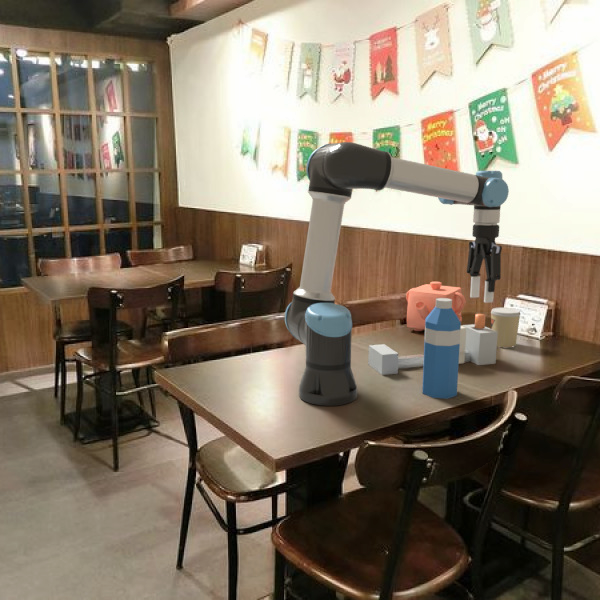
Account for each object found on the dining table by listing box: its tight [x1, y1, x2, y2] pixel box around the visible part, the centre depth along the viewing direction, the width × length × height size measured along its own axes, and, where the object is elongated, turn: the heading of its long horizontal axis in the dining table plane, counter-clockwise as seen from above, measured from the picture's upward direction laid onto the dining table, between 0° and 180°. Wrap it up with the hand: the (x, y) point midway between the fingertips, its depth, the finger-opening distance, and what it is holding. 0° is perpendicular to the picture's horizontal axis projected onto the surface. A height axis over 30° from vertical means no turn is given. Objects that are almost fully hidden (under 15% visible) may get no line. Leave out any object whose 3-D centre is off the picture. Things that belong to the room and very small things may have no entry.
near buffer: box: [367, 343, 399, 376], centre depth 175 cm, size 5×10×6 cm, turn 16°
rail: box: [398, 350, 471, 370], centre depth 179 cm, size 26×2×3 cm, turn 106°
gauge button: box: [474, 313, 487, 329], centre depth 181 cm, size 3×3×4 cm
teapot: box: [405, 281, 467, 332], centre depth 216 cm, size 25×23×18 cm
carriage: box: [458, 325, 466, 365], centre depth 180 cm, size 8×6×11 cm
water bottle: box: [422, 298, 462, 399], centre depth 154 cm, size 9×9×25 cm
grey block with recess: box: [461, 323, 498, 366], centre depth 183 cm, size 6×10×10 cm, turn 16°
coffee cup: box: [490, 307, 521, 348], centre depth 199 cm, size 9×9×12 cm
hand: (481, 299), depth 180 cm, fingers open, 7 cm apart
